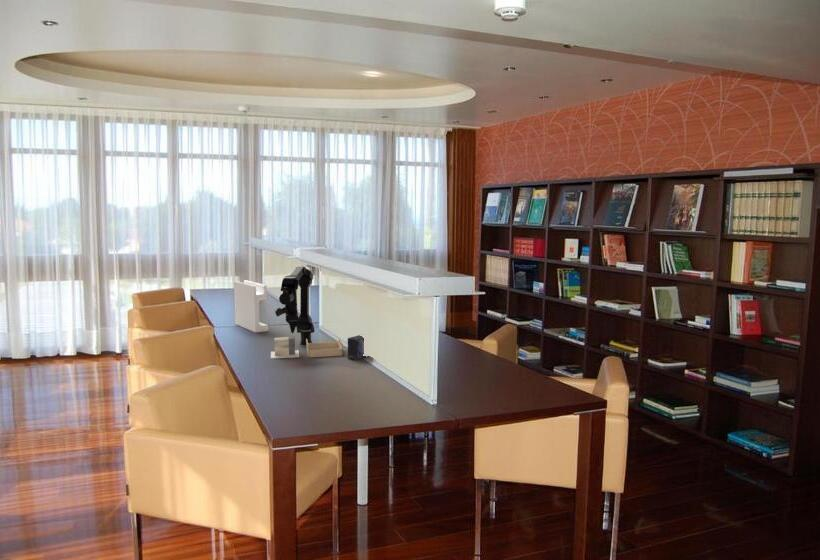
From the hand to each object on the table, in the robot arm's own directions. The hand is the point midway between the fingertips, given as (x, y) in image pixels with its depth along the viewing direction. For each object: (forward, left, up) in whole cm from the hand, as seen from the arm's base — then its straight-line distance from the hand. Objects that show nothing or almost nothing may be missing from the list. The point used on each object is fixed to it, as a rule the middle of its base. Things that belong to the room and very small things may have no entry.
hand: (292, 331), depth 326 cm
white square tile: (+3, -4, -12) cm, 13 cm away
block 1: (-78, -23, -12) cm, 82 cm away
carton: (+3, +16, -12) cm, 20 cm away
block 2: (+3, -4, -11) cm, 12 cm away
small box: (+18, +32, -12) cm, 38 cm away
